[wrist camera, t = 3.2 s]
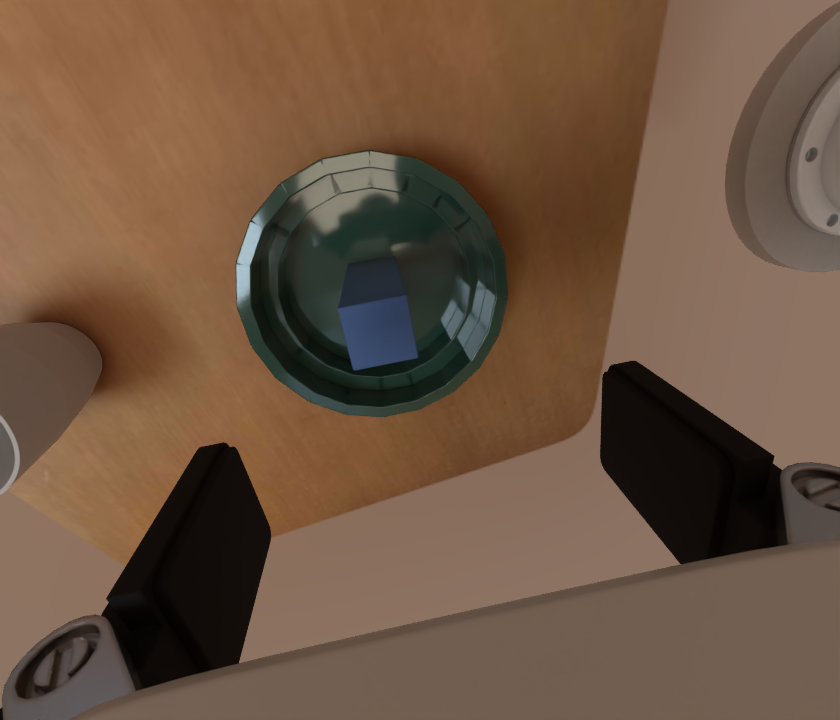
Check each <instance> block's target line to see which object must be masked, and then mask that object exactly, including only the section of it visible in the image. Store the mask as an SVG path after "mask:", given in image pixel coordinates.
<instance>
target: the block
mask: <svg viewBox="0 0 840 720" xmlns="http://www.w3.org/2000/svg"><path fill="white" fill-rule="evenodd" d="M337 310H338V314H339V318H340V322H341V325H342V329H343V333H344V337H345V341H346V345H347V348H348V352H349V356H350V360H351V364H352V368H353V370H360V369H365V368H370V367H375V366H380V365H385V364H390V363H395V362H400V361H405V360H410V359H415V358H418V351H417V346H416V340H415V335H414V329H413V324H412V318H411V313H410V307H409V302H408V297H407V293H406V290H405V287H404V284H403V281H402V278H401V275H400V272H399V269H398V266H397V262H396V259H395V257H394V256H390V257H385V258H379V259H374V260H369V261H364V262H358V263H353V264H348V265H347V269H346V274H345V278H344V282H343V287H342V291H341V296H340V300H339V304H338V309H337Z"/></svg>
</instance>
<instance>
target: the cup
mask: <svg viewBox="0 0 840 720" xmlns="http://www.w3.org/2000/svg"><path fill="white" fill-rule="evenodd" d="M101 371H102V358H101V355H100V352H99V350H98V348H97V347H96V345H95V344H94V343H93V342H92V341H91V339H89V338H88V337H87V336H86V335H85V334H83V333H82V332H80V331H79V330H77V329H75V328H73V327H71V326H68V325H65V324H61V323H55V322H42V323H14V324H5V325H0V495H1V494H3V493H4V492H5V491H6V490H7V489H8V488H9V487H10V486H11V485H12V484H13V483H14V482H15V481H16V480H17V479H18V478H19V477H20V476H21V475H22V474H23V473H24V472H25V471H26V470H27V469H28V468H29V467H30V466H31V465H33V464H34V463H35V462H36V461H37V460H38V459H39V458H40V457H41V456H42V455H43V454H44V453H45V452H46V451H47V450H48V449H49V448H50V447H51V446H52V445H53V444H54V443H55V442H56V441H57V440H58V439H59V438H60V437H61V435H62V434H63V433H64V431H65V430H66V429H67V427H68V426H69V425H70V424H71V422H72V421H73V420H74V418H75V417H76V416H77V415H78V413H79V412H80V411H81V409H82V408H83V407H84V405H85V404H86V403H87V401H88V400H89V398H90V396H91V394H92V392H93V390H94V387H95V385H96V383H97V381H98V379H99V376H100V374H101Z"/></svg>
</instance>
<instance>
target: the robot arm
mask: <svg viewBox="0 0 840 720" xmlns="http://www.w3.org/2000/svg"><path fill="white" fill-rule="evenodd" d="M786 182H787V190H788V197H789V199H790V202H791V205H792V208H793V210H794V211H795V213H796V214H797V216H798V217H799V219H800V220H801V221H802V222H803V223H805V224H806V225H807V226H808V227H810V228H811V229H814V230H816V231H818V232H821V233H826V234H832V235H838V236H840V66H839V68H838V69H837V70H836V71H835V72H834V73H833V74H832V75H831V76H830V77H829V78H828V80H827V81H826V82H825V83H824V84H823V85H822V87H821V88H820V90H819V91H818V92H817V94H816V95H815V97H814V98H813V100H812V101H811V102H810V104H809V106H808V108H807V110H806V111H805V113H804V115H803V117H802V119H801V121H800V123H799V125H798V128H797V130H796V133H795V136H794V138H793V141H792V144H791V148H790V153H789V157H788V162H787V176H786ZM602 380H603V381H602V411H601V415H602V416H601V445H600V447H601V448H600V459H601V463H602V466H603V468H604V470H605V471H606V473H607V474H608V475H609V476H610V477H611V479H612V480H613V481H614V482H615V483H616V485H617V486H618V487H619V489H620V490H621V491H622V492H623V493H624V495H625V496H626V497H627V498H628V500H629V501H630V502H631V503H632V505H633V506H634V507H635V508H636V509H637V511H638V512H639V513H640V515H641V516H642V517H643V518H644V519H645V521H646V522H647V523H648V524H649V526H650V527H651V528H652V529H653V531H654V532H655V533H656V534H657V535H658V537H659V538H660V539H661V540H662V542H663V543H664V544H665V545H666V547H667V548H668V549H669V550H670V552H671V553H672V554H673V555H674V556H675V558H676V559H677V560H678V562H679V563H680V564H681V565H677V566H671V567H667V568H662V569H658V570H653V571H649V572H644V573H639V574H634V575H630V576H625V577H621V578H616V579H611V580H607V581H602V582H597V583H593V584H588V585H584V586H579V587H574V588H570V589H565V590H560V591H556V592H551V593H547V594H542V595H538V596H533V597H529V598H524V599H520V600H515V601H511V602H506V603H502V604H497V605H492V606H488V607H483V608H479V609H474V610H470V611H466V612H461V613H457V614H452V615H448V616H444V617H439V618H434V619H430V620H425V621H421V622H417V623H412V624H407V625H403V626H398V627H394V628H390V629H385V630H381V631H377V632H372V633H368V634H364V635H359V636H355V637H350V638H346V639H342V640H337V641H333V642H328V643H324V644H320V645H315V646H311V647H307V648H302V649H298V650H294V651H289V652H285V653H280V654H276V655H272V656H268V657H263V658H259V659H256V660H251V661H247V662H243V663H239V660H240V656H241V652H242V648H243V645H244V641H245V637H246V633H247V630H248V626H249V622H250V618H251V614H252V610H253V607H254V603H255V599H256V595H257V591H258V587H259V583H260V579H261V576H262V572H263V568H264V564H265V560H266V557H267V552H268V549H269V545H270V540H271V530H270V526H269V524H268V521H267V519H266V516H265V514H264V512H263V509H262V507H261V505H260V502H259V500H258V497H257V495H256V493H255V490H254V488H253V486H252V483H251V481H250V479H249V476H248V474H247V471H246V469H245V467H244V464H243V462H242V460H241V457H240V455H239V452H238V450H237V449H236V448H235V447H229V445H228V444H227V443H219V444H214V445H209V446H204V447H200V448H199V449H198V450H197V451H196V453H195V455H194V456H193V458H192V459H191V461H190V463H189V464H188V466H187V468H186V469H185V471H184V473H183V474H182V476H181V477H180V479H179V481H178V482H177V484H176V486H175V487H174V489H173V490H172V492H171V494H170V495H169V497H168V499H167V500H166V502H165V503H164V505H163V507H162V508H161V510H160V512H159V513H158V515H157V517H156V518H155V520H154V521H153V523H152V525H151V526H150V528H149V530H148V531H147V533H146V534H145V536H144V538H143V539H142V541H141V543H140V544H139V546H138V547H137V549H136V551H135V552H134V554H133V556H132V557H131V559H130V561H129V562H128V564H127V565H126V567H125V569H124V570H123V572H122V574H121V575H120V577H119V578H118V580H117V582H116V583H115V585H114V587H113V588H112V590H111V591H110V593H109V595H108V596H107V598H106V599H107V600H108V602H109V603H108V605H107V606H106V608H105V610H104V611H103V613H102V615H101V616H100V615H89V616H83V617H80V618H78V619H75V620H73V621H70V622H68V623H66V624H64V625H63V626H61V627H59V628H58V629H56V630H54V631H53V632H51V633H50V634H49V635H47V636H46V637H45V638H43V639H42V640H41V641H39V642H38V643H37V644H36V645H35V646H34V647H33V648H32V649H31V650H30V651H29V652H28V653H27V654H26V655H25V656H24V657H23V658H22V659H21V660H20V662H19V663H18V664H17V665H16V667H15V668H14V669H13V671H12V672H11V674H10V676H9V678H8V680H7V682H6V684H5V685H4V690H3V695H2V708H1V709H0V720H840V467H836V466H832V465H828V464H821V463H812V462H810V463H796V464H793V465H790V466H787V467H786V468H785V469H784V470H781V469H780V468H778V467H777V466H775V465H774V464H773V460H774V455H772V454H771V453H769V452H768V451H766V450H765V449H763V448H762V447H761V446H759V445H758V444H756V443H755V442H753V441H752V440H750V439H749V438H747V437H746V436H744V435H743V434H742V433H740V432H739V431H737V430H736V429H734V428H733V427H731V426H730V425H728V424H727V423H725V422H724V421H723V420H721V419H720V418H718V417H717V416H715V415H714V414H713V413H711V412H710V411H708V410H707V409H705V408H704V407H702V406H700V405H699V404H698V403H697V402H695V401H694V400H692V399H691V398H689V397H688V396H686V395H685V394H683V393H682V392H680V391H679V390H678V389H676V388H675V387H673V386H672V385H670V384H669V383H667V382H666V381H664V380H663V379H662V378H660V377H659V376H657V375H656V374H654V373H653V372H651V371H650V370H649V369H647V368H646V367H644V366H643V365H641V364H640V363H638V362H636V361H629V362H624V363H619V364H614V365H611V366H610V367H609V369H608V371H607V372H605V373H604V374H603V378H602Z"/></svg>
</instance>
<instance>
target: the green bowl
mask: <svg viewBox="0 0 840 720" xmlns="http://www.w3.org/2000/svg"><path fill="white" fill-rule="evenodd" d="M390 256H394V257H395V259H396V262H397V266H398V269H399V272H400V275H401V278H402V281H403V284H404V287H405V290H406V293H407V297H408V302H409V307H410V313H411V318H412V324H413V329H414V335H415V340H416V346H417V351H418V358H415V359H410V360H405V361H400V362H395V363H390V364H385V365H380V366H375V367H370V368H365V369H360V370H353V368H352V364H351V360H350V356H349V352H348V348H347V345H346V341H345V337H344V333H343V329H342V325H341V322H340V318H339V314H338V310H337V309H338V304H339V300H340V296H341V291H342V287H343V282H344V278H345V274H346V269H347V265H348V264H353V263H358V262H364V261H369V260H374V259H379V258H385V257H390ZM236 300H237V309H238V312H239V315H240V317H241V320H242V323H243V325H244V328H245V331H246V334H247V336H248V339H249V342H250V345H251V346H252V348H253V349H254V351H255V352H256V353H257V355H258V356H259V357H260V359H261V360H262V361H263V362H264V364H265V365H266V366H267V368H268V369H269V370H270V371H271V373H272V374H273V375H274V377H275V378H276V379H277V380H279V381H280V382H282V383H283V384H284V385H286V386H287V387H289V388H290V389H291V390H293V391H294V392H296V393H297V394H298V395H300V396H301V397H303V398H304V399H305V400H307V401H309V402H311V403H314V404H317V405H320V406H323V407H325V408H328V409H331V410H334V411H337V412H340V413H342V414H346V415H358V416H373V417H386V416H391V415H396V414H401V413H406V412H411V411H416V410H419V409H422V408H424V407H426V406H428V405H430V404H432V403H433V402H435V401H437V400H439V399H441V398H443V397H445V396H447V395H449V394H451V393H452V392H454V391H455V390H456V389H457V388H459V387H460V386H461V385H462V384H463V383H464V382H465V381H466V380H467V379H468V378H469V377H470V376H471V375H472V374H474V373H475V372H476V371H477V370H478V369H479V368H480V366H481V365H482V363H483V361H484V360H485V358H486V356H487V355H488V353H489V351H490V350H491V348H492V346H493V344H494V343H495V341H496V339H497V338H498V336H499V333H500V329H501V325H502V321H503V317H504V312H505V308H506V304H507V300H508V284H507V271H506V258H505V253H504V251H503V248H502V246H501V244H500V241H499V239H498V237H497V234H496V232H495V229H494V227H493V225H492V222H491V220H490V218H489V216H488V214H487V213H486V212H485V211H484V210H483V209H482V207H481V206H480V205H479V204H478V203H477V202H476V201H475V199H474V198H473V197H472V196H471V195H470V194H469V193H468V192H467V190H466V189H465V188H464V187H463V186H462V185H461V184H460V183H459V182H458V181H457V180H455V179H453V178H452V177H450V176H448V175H446V174H445V173H443V172H441V171H439V170H437V169H436V168H434V167H432V166H430V165H428V164H427V163H425V162H423V161H421V160H420V159H417V158H413V157H408V156H402V155H396V154H390V153H384V152H379V151H373V150H366V151H360V152H355V153H349V154H344V155H338V156H333V157H327V158H322V159H320V160H318V161H316V162H315V163H313V164H311V165H309V166H308V167H306V168H304V169H303V170H301V171H299V172H298V173H296V174H294V175H293V176H291V177H289V178H288V179H286V180H284V181H282V182H281V183H280V184H279V185H278V186H277V187H276V188H275V190H274V191H273V192H272V193H271V194H270V196H269V197H268V198H267V199H266V201H265V202H264V203H263V204H262V206H261V207H260V208H259V209H258V211H257V212H256V213H255V214H254V216H253V217H252V218H251V220H250V221H249V224H248V227H247V230H246V233H245V236H244V239H243V242H242V245H241V248H240V251H239V254H238V257H237V260H236Z"/></svg>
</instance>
